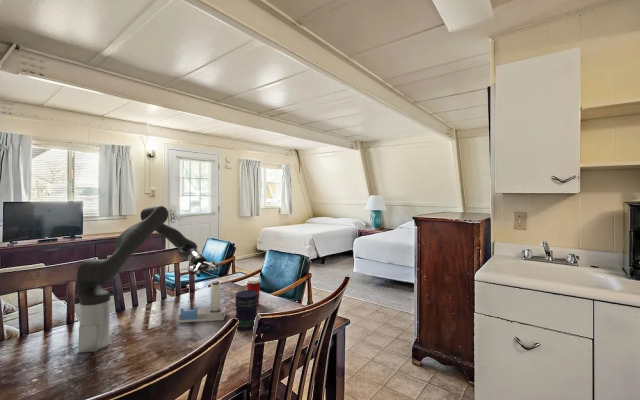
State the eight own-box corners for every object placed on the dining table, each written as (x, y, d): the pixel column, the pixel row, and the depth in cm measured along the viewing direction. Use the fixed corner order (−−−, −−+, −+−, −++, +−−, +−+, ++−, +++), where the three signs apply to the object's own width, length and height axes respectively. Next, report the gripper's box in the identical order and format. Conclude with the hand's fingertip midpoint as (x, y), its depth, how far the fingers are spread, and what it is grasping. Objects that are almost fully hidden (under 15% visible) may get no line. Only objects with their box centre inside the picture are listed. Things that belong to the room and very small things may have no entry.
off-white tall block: (219, 316, 142) (220, 283, 142) (209, 317, 141) (209, 283, 141) (221, 313, 147) (221, 280, 147) (210, 313, 146) (211, 280, 146)
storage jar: (251, 332, 128) (252, 297, 128) (230, 330, 130) (231, 296, 130) (260, 323, 138) (261, 291, 138) (241, 321, 140) (241, 289, 140)
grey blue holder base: (223, 319, 141) (223, 306, 141) (178, 322, 137) (178, 309, 137) (225, 313, 149) (225, 301, 149) (183, 315, 145) (183, 303, 145)
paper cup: (262, 302, 165) (262, 277, 165) (257, 307, 158) (258, 281, 158) (248, 302, 166) (248, 276, 166) (243, 306, 158) (244, 280, 158)
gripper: (183, 257, 156) (193, 270, 144) (210, 251, 165) (222, 263, 154) (183, 270, 158) (193, 283, 146) (210, 263, 167) (221, 276, 155)
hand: (208, 273), depth 150 cm, fingers open, 8 cm apart
